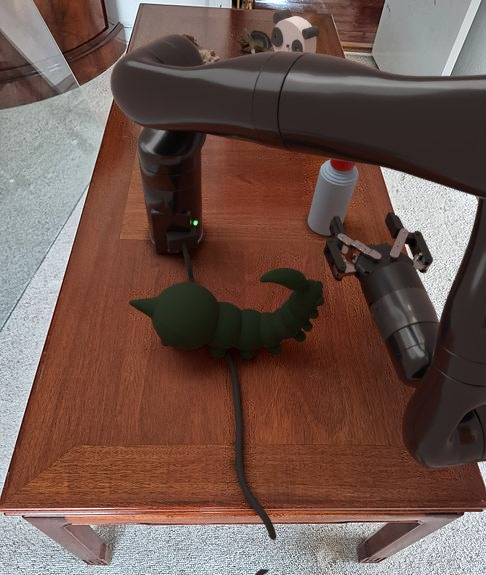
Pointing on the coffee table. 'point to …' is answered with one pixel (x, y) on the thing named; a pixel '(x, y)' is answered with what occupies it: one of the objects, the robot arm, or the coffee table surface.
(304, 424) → the coffee table surface
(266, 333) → the toy figurine
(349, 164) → the bottle cap
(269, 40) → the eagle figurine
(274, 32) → the panda figurine
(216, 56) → the mineral formation
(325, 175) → the bottle
